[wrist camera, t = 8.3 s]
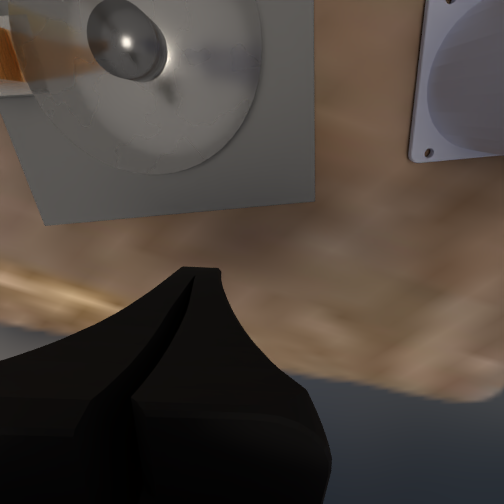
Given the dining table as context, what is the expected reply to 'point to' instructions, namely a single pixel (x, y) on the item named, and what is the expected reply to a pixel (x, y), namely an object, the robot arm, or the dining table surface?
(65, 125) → the lidded saucepan
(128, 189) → the base plate
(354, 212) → the dining table surface
